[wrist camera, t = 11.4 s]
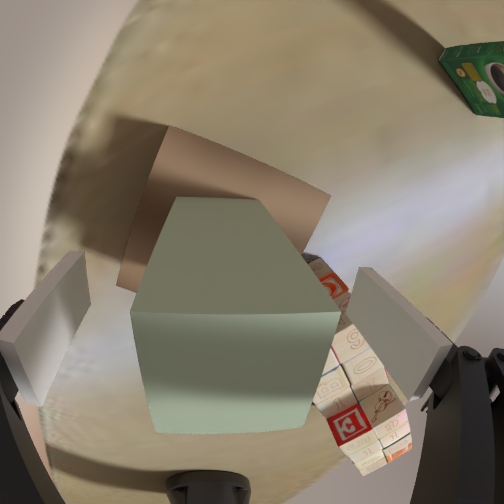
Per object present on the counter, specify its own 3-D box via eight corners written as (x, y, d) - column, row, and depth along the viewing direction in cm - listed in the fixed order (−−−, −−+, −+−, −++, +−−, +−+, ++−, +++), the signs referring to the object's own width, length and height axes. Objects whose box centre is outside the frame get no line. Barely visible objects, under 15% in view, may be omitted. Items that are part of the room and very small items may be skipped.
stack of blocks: (257, 288, 26) (295, 396, 15) (320, 254, 26) (395, 340, 14) (329, 404, 35) (363, 478, 23) (371, 381, 34) (413, 450, 23)
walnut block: (250, 297, 26) (260, 330, 22) (130, 256, 23) (116, 285, 19) (306, 183, 23) (331, 195, 19) (176, 127, 20) (169, 125, 15)
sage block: (252, 274, 20) (302, 427, 9) (176, 272, 19) (155, 432, 8) (259, 200, 18) (341, 311, 7) (176, 196, 17) (129, 311, 6)
